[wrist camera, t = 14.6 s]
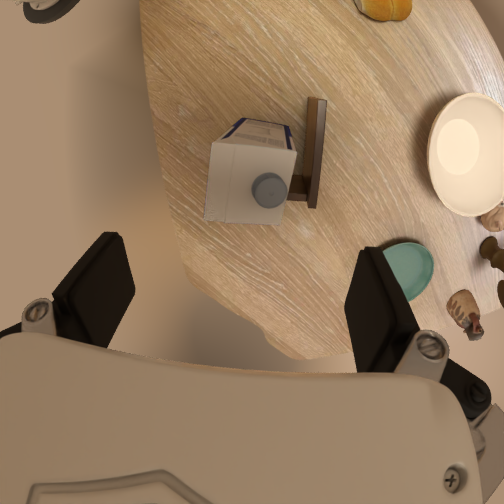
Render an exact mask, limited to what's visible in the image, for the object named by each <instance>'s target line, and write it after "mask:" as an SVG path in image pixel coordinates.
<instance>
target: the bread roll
mask: <svg viewBox="0 0 504 504" xmlns="http://www.w3.org/2000/svg"><path fill="white" fill-rule="evenodd" d="M354 1H355V3H356V5H357V7H358V9H359V10H360V11H361V12H362V13H364V14H366V15H368V16H369V17H371V18H373V19H376V20H380V21H388V20H398V21H401V20H404V19H406V18H407V17H408V16H409V15H410V13H411V10H412V0H354Z"/></svg>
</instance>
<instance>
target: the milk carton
mask: <svg viewBox="0 0 504 504" xmlns="http://www.w3.org/2000/svg"><path fill="white" fill-rule="evenodd" d="M296 156H297V152H296V149H295V146H294V142H293V139H292V135H291V132H290V129H289V126H286V125H281V124H276V123H271V122H266V121H260V120H254V119H248V118H241V119H240V120H239V121H238V122H236V123H235V124H234V125H233V126H232V127H231V128H229V129H228V130H227V131H226V132H225V133H224V134H223V135H221V136H220V137H219V138H218V139H217V140H216V141H215V142H212V147H211V155H210V163H209V172H208V180H207V190H206V199H205V209H204V220H206V221H219V222H224V223H239V224H262V225H281V220H282V216H283V212H284V208H285V204H286V199H287V195H288V191H289V187H290V182H291V178H292V174H293V169H294V165H295V161H296Z"/></svg>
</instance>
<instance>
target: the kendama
mask: <svg viewBox="0 0 504 504" xmlns="http://www.w3.org/2000/svg"><path fill="white" fill-rule="evenodd" d="M480 254H481V256H482V258H484V259H488V260H489V261H490V263H491V267H492V268H498V269H500V270H501V271H502V272H503V273H504V249H500V248H499V247H498V243H497V239H496V238H495V237H490V238H488V239H487V240H485V241H484V243H483V244H482V246H481V250H480ZM497 292H498V297H499V300H500V303H501V305H502V306H503V308H504V280H501V281H499V282H498V286H497Z"/></svg>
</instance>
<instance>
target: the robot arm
mask: <svg viewBox="0 0 504 504" xmlns="http://www.w3.org/2000/svg"><path fill="white" fill-rule="evenodd" d="M12 1H16V2H15V4H16V5H19V4H21V3H22V2H30V5H31V7H32V8H33V9H35V10H45V9H48V8H49V7H51V6H53V5H54V4H56V3H57V2H58V1H59V0H12ZM52 295H53V298H54V301H53V302H51V301H50V300H49V299H47V298H40V299H36V300H34V301H32V302H31V303H30V304H28V305H27V307H26V308H25V309H24V311H23V313H22V322H20V323H18V324H16V325H14V326H12V327H9V328H7V329H5V330H3V331H1V332H0V504H485V503H486V502H487V500H488V499H489V498H490V496H491V495H492V494H493V493H494V491H495V490H496V488H497V487H498V486H499V484H500V483H501V481H502V480H503V479H504V412H503V411H502V410H501V409H500V408H499V406H497V404H496V403H495V404H494V405H492V404H491V392H490V389H489V387H488V386H487V384H486V383H485V382H484V381H483V380H481V379H480V378H478V377H477V376H475V375H474V374H472V373H470V372H469V371H468V370H466V369H465V368H463V367H462V366H460V365H458V364H457V363H455V362H454V361H452V360H451V359H449V358H448V356H449V346H448V344H447V342H446V340H445V339H444V338H443V337H442V336H441V335H440V334H438V333H437V332H434V331H432V330H420V328H419V326H418V323H417V321H416V319H415V316H414V314H413V312H412V309H411V307H410V305H409V303H408V301H407V298H406V296H405V294H404V292H403V290H402V288H401V286H400V284H399V283H398V281H397V279H396V277H395V275H394V273H393V271H392V269H391V267H390V265H389V263H388V261H387V259H386V257H385V255H384V253H383V251H382V250H381V248H380V247H368V246H366V247H365V248H364V250H360V252H359V255H358V259H357V263H356V266H355V270H354V274H353V277H352V281H351V284H350V287H349V291H348V294H347V297H346V301H345V305H344V310H345V315H346V319H347V324H348V328H349V333H350V338H351V343H352V348H353V353H354V357H355V363H356V368H357V373H302V372H301V373H300V372H275V371H258V370H246V369H234V368H224V367H214V366H205V365H198V364H190V363H182V362H176V361H170V360H163V359H158V358H152V357H146V356H140V355H136V354H131V353H125V352H121V351H116V350H112V349H107V347H108V345H109V343H110V341H111V339H112V337H113V335H114V333H115V331H116V329H117V327H118V325H119V323H120V321H121V319H122V317H123V316H124V314H125V312H126V310H127V308H128V306H129V304H130V302H131V300H132V299H133V297H134V295H135V285H134V281H133V277H132V274H131V270H130V266H129V262H128V258H127V255H126V250H125V246H124V243H123V239H122V237H121V236H119V234H118V233H117V232H104V233H102V234H101V236H100V237H99V238H98V239H97V240H96V241H95V242H94V243H93V244H92V246H91V247H90V248H89V249H88V250H87V251H86V252H85V254H84V255H83V256H82V257H81V258H80V259H79V261H78V262H77V263H76V264H75V265H74V266H73V268H72V269H71V270H70V271H69V273H68V274H67V275H66V276H65V277H64V279H63V280H62V281H61V282H60V284H59V285H58V286H57V288H56V289H55V290H54V291H53V293H52Z"/></svg>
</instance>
